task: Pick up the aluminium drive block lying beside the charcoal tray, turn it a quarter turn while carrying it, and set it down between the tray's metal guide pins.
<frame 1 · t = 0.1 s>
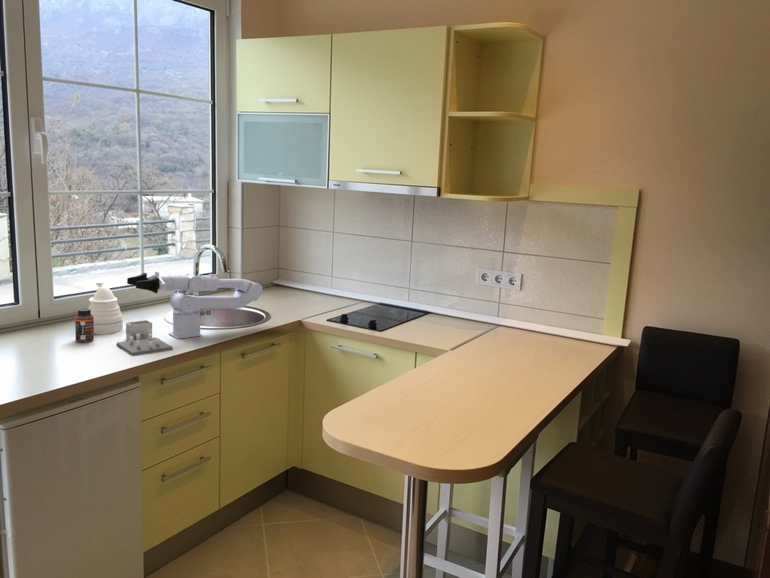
hand: (131, 282, 226), 22 cm above the kitchen counter, tool horizontal, fingers open, 7 cm apart
drive: (139, 338, 235), on the kitchen counter
honey pot: (104, 329, 244), on the kitchen counter
supplement bottle: (84, 341, 228), on the kitchen counter
pin tray: (144, 347, 225), on the kitchen counter
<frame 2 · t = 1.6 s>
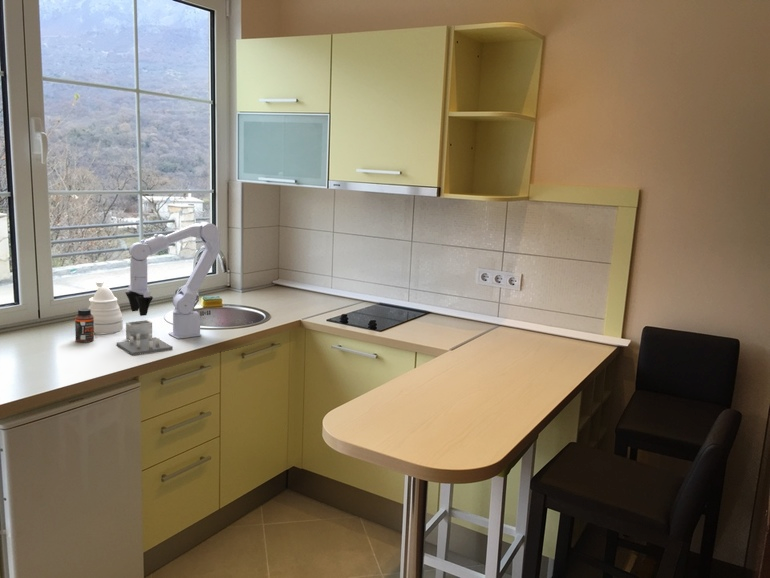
hand: (139, 313, 233), 9 cm above the kitchen counter, tool pointing down, fingers open, 7 cm apart
nothing on the kitchen counter moved.
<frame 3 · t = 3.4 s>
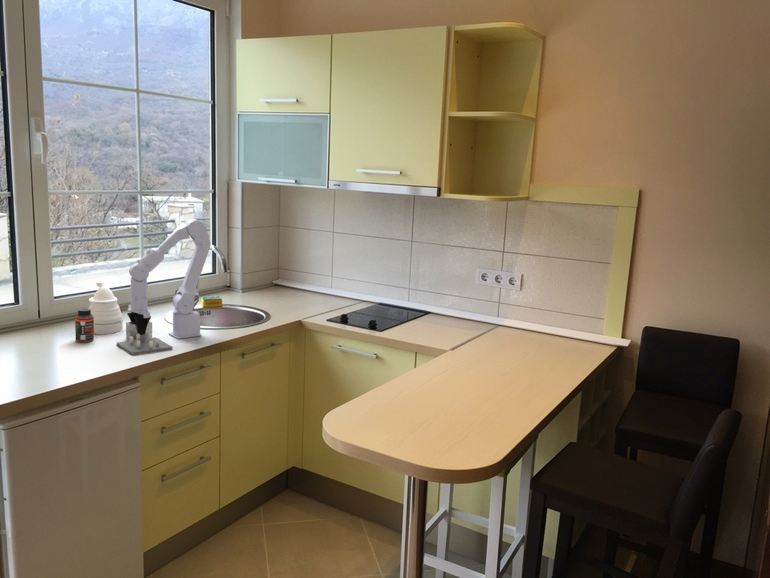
hand: (139, 333, 235), 2 cm above the kitchen counter, tool pointing down, fingers closed on drive, 4 cm apart
drive: (139, 338, 235), on the kitchen counter, touching gripper
everything else where it was.
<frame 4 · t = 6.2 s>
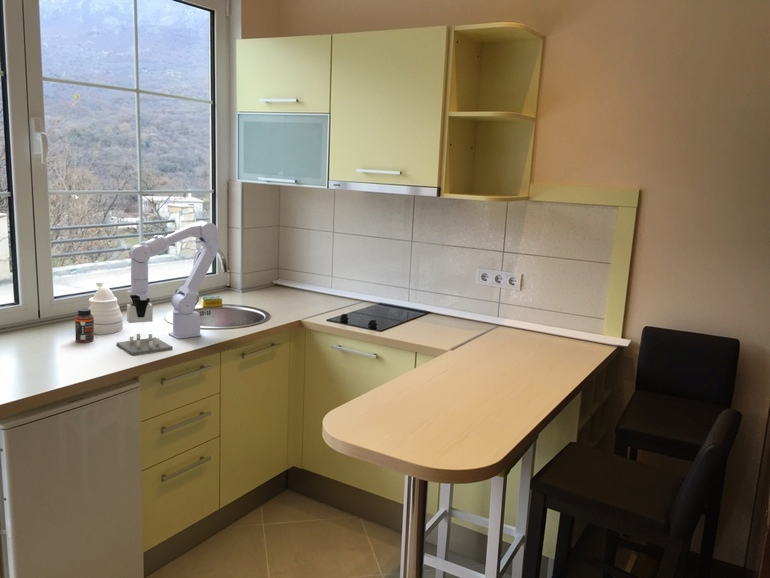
hand: (139, 315, 232), 9 cm above the kitchen counter, tool pointing down, fingers closed on drive, 4 cm apart
drive: (139, 320, 232), point 7 cm above the kitchen counter, touching gripper
everything else where it was.
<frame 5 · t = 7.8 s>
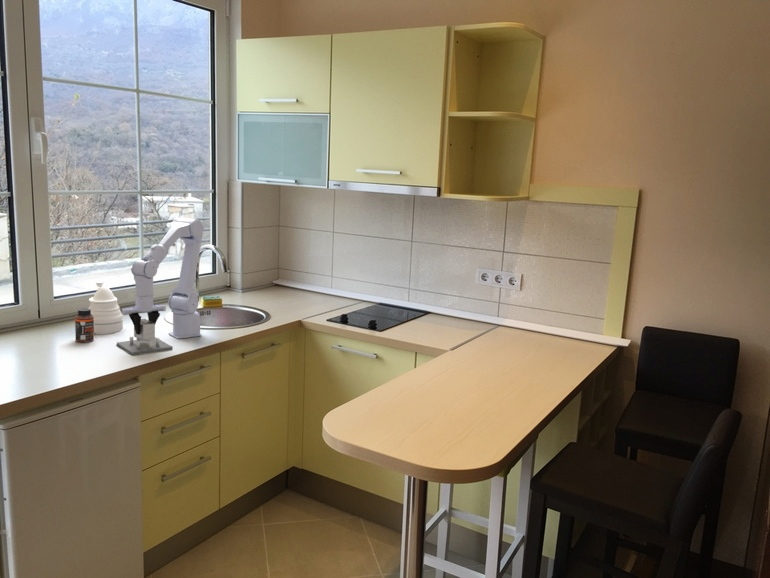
hand: (144, 333, 224), 5 cm above the kitchen counter, tool pointing down, fingers closed on drive, 4 cm apart
drive: (144, 338, 224), point 3 cm above the kitchen counter, touching gripper
everything else where it was.
when the fingers open (4 cm above the kitchen counter, at t = 9.2 s): drive drops 1 cm, resting on pin tray.
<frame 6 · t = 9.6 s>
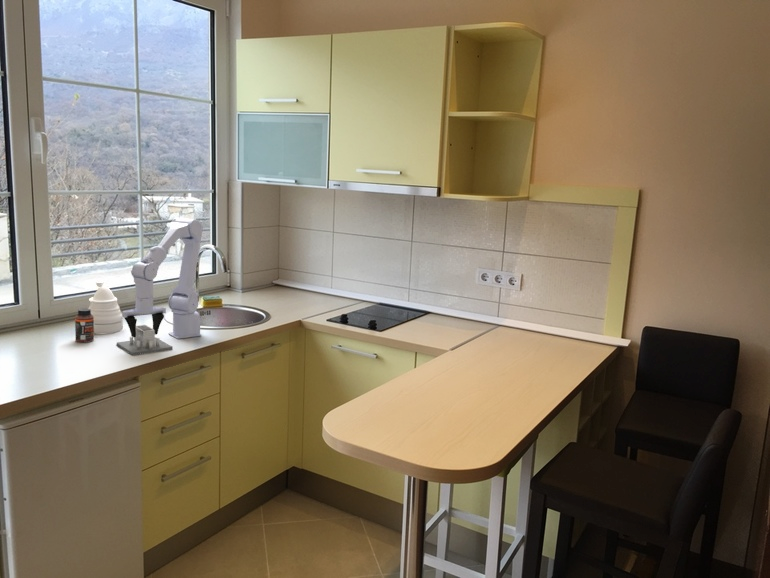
hand: (144, 335, 224), 4 cm above the kitchen counter, tool pointing down, fingers open, 7 cm apart
drive: (144, 344, 224), point 1 cm above the kitchen counter, touching pin tray
everything else where it was.
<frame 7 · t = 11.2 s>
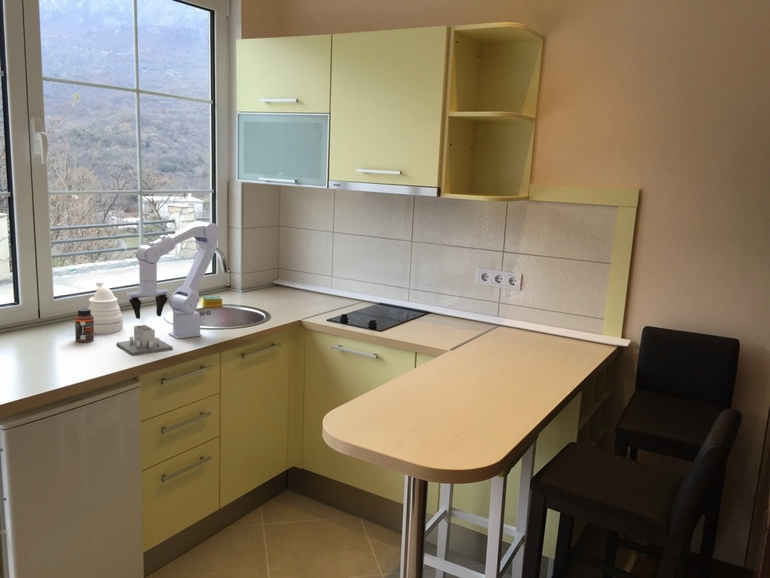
hand: (148, 317, 229), 9 cm above the kitchen counter, tool pointing down, fingers open, 7 cm apart
nothing on the kitchen counter moved.
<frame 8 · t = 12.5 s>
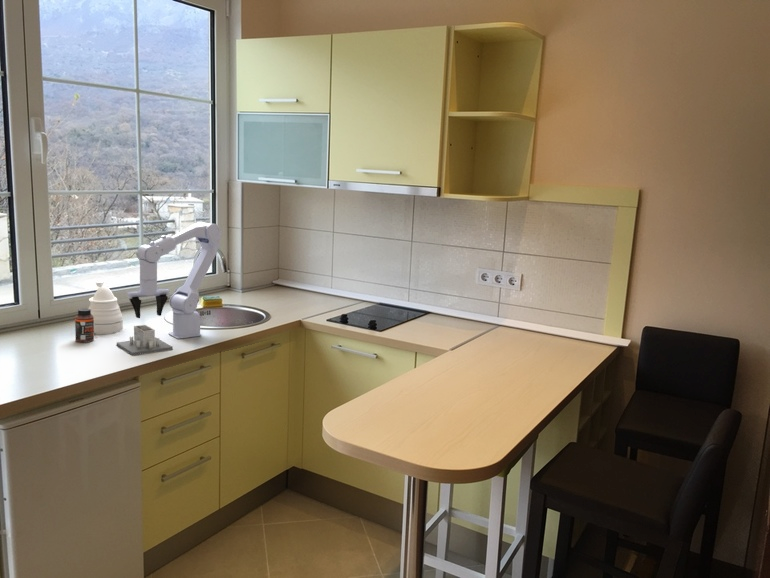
hand: (148, 316, 230), 9 cm above the kitchen counter, tool pointing down, fingers open, 7 cm apart
nothing on the kitchen counter moved.
at the end: drive 0.0 cm off-centre on the pin tray, point 1.0 cm above the pin tray's base; drive tilted 0°; the gripper is holding nothing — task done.
